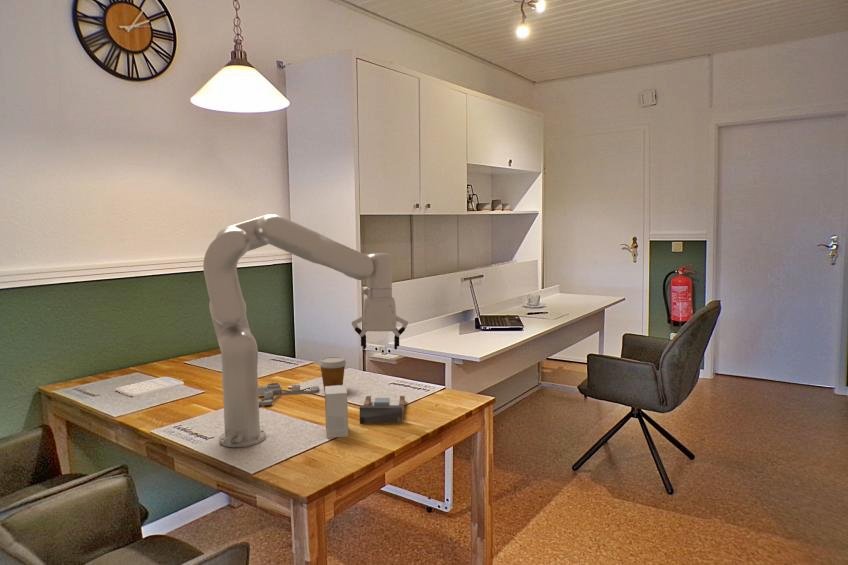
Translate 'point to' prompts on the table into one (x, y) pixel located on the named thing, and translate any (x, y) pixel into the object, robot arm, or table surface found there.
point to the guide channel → (381, 412)
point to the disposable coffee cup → (332, 371)
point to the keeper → (382, 401)
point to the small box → (336, 411)
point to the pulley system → (276, 389)
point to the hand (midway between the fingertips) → (380, 348)
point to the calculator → (149, 386)
